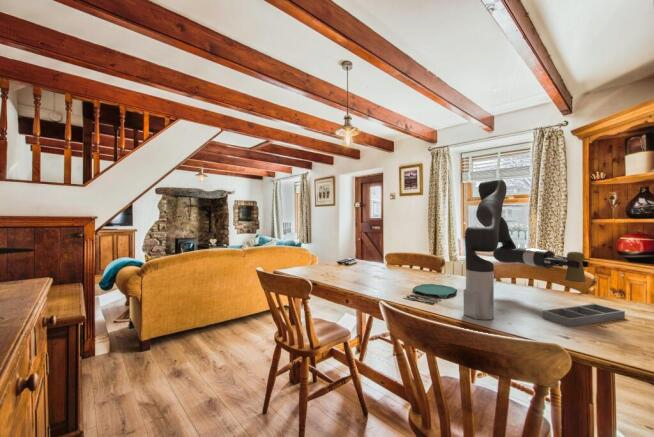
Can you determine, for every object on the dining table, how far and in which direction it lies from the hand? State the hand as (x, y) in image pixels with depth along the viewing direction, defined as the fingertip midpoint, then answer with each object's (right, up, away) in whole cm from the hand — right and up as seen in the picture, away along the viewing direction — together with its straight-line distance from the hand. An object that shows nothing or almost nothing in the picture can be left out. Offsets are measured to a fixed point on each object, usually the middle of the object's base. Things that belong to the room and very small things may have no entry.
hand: (583, 264), depth 110 cm
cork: (-1, -7, +3) cm, 7 cm away
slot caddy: (-3, -19, -3) cm, 19 cm away
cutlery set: (-47, -19, +29) cm, 59 cm away
